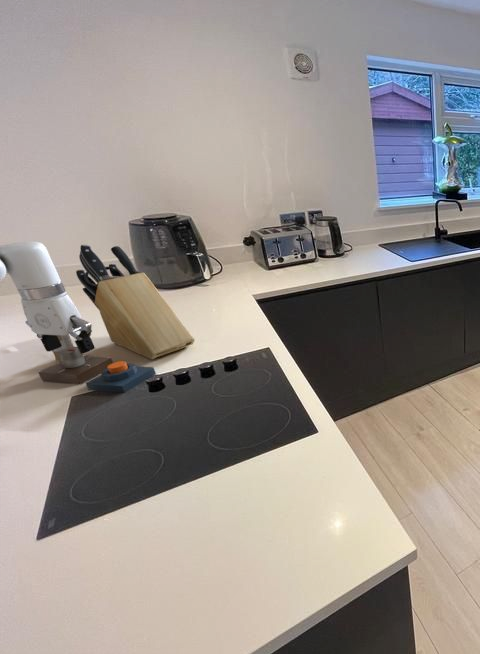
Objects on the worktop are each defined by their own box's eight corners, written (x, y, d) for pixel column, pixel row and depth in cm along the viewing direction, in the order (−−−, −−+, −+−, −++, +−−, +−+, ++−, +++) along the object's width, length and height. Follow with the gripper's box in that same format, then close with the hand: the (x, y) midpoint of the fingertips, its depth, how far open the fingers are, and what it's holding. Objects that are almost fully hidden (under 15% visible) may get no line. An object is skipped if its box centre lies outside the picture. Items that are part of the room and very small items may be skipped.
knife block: (139, 323, 139) (107, 236, 127) (198, 347, 125) (168, 251, 113) (97, 336, 129) (58, 243, 117) (155, 363, 115) (118, 261, 103)
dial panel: (42, 381, 106) (37, 371, 105) (79, 364, 114) (74, 354, 113) (80, 384, 105) (76, 374, 104) (114, 366, 113) (110, 357, 112)
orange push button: (105, 373, 104) (103, 367, 103) (119, 366, 107) (117, 360, 107) (118, 374, 104) (116, 368, 103) (131, 367, 107) (129, 361, 106)
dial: (60, 367, 107) (53, 352, 105) (76, 360, 110) (69, 345, 109) (74, 368, 106) (67, 353, 105) (90, 361, 110) (83, 345, 108)
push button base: (88, 390, 103) (82, 377, 101) (122, 371, 111) (117, 359, 110) (124, 393, 102) (119, 379, 101) (156, 374, 111) (151, 361, 109)
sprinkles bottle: (51, 362, 114) (31, 320, 109) (65, 354, 118) (46, 313, 113) (70, 361, 115) (51, 319, 110) (83, 353, 119) (65, 313, 114)
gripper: (-8, 295, 97) (25, 355, 104) (57, 298, 96) (86, 359, 103) (29, 284, 104) (57, 341, 111) (90, 287, 103) (115, 345, 110)
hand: (71, 350), depth 107 cm, fingers open, 9 cm apart
